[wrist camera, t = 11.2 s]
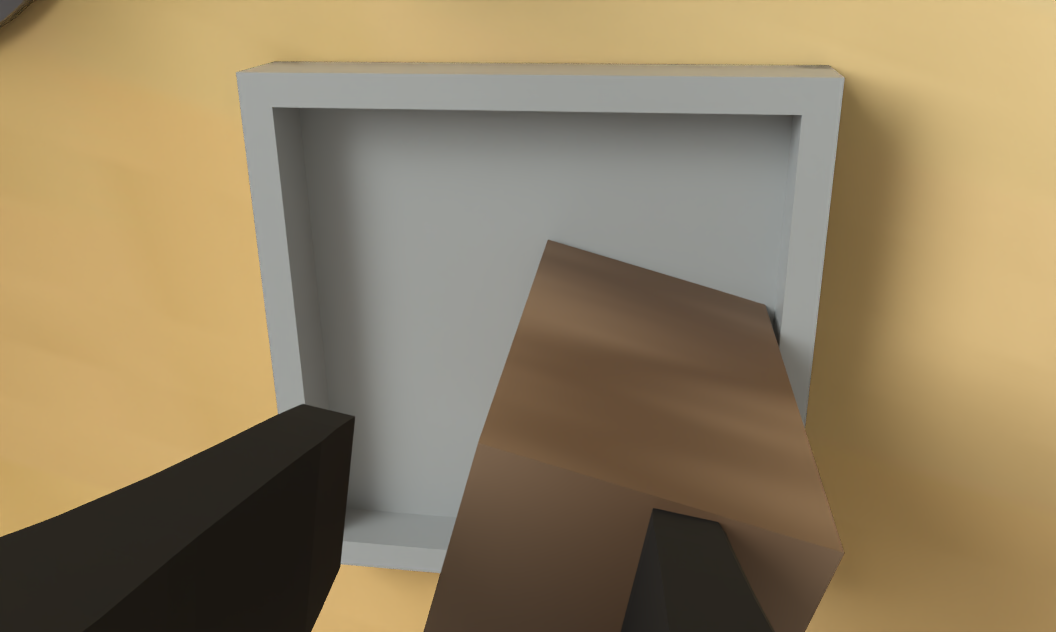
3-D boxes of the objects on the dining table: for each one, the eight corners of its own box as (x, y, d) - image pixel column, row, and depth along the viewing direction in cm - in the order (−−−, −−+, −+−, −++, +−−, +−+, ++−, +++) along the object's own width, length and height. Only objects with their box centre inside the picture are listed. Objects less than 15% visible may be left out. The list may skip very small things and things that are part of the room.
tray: (777, 553, 17) (785, 604, 15) (324, 516, 18) (296, 560, 17) (828, 65, 14) (844, 77, 12) (274, 61, 15) (235, 71, 14)
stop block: (764, 304, 15) (844, 553, 9) (690, 487, 16) (715, 811, 10) (547, 239, 15) (477, 441, 9) (492, 428, 16) (399, 714, 10)
